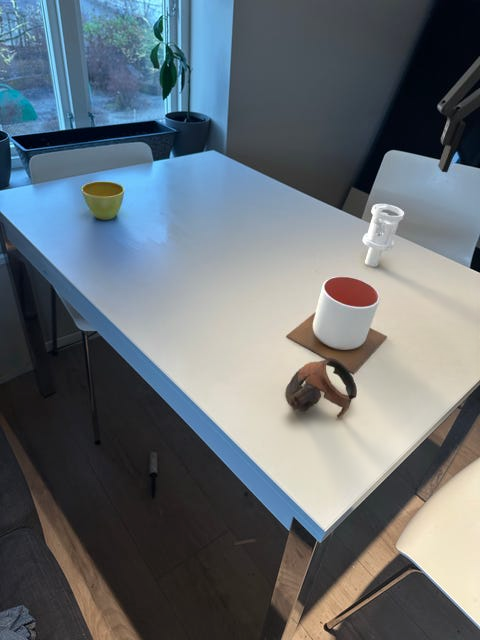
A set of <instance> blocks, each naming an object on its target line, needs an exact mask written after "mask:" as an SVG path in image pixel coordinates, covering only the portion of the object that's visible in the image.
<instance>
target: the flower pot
mask: <svg viewBox="0 0 480 640" xmlns="http://www.w3.org/2000/svg"><path fill="white" fill-rule="evenodd" d="M81 193H82V196H83V199H84V201H85V203H86V205H87V207H88V209H89V211H90V212H91V213H92V214H93V216H94V217H95V218H96V219H98V220H103V221H106V220H107V221H108V220H113V219H114V218H116V216H117V215H118V213H119V211H120V209H121V206H122V204H123V200H124V195H125V187H124V186H123V185H121V184H119V183H117V182H114V181H107V180H104V181H103V180H99V181H92V182H88V183H86V184H83V186H82V187H81Z"/></svg>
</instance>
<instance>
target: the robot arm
mask: <svg viewBox="0 0 480 640" xmlns="http://www.w3.org/2000/svg"><path fill="white" fill-rule="evenodd" d="M479 80H480V56H478V58H477V59H476V60H475V61H474V62H473V63H472V65H470V67H469V68H468V69H467V71H466V72H464V74H463V75H462V76H461V77H460V78H459V80H458V81H457V82H456V83H455V84H454V86H453V87H452V88H451V89H450V90H449V91H448V93H446V95H444V97H443V98H442V99H441V100H440V102H438V104H437V107H436V108H437V110H438V111H439V113H440V114H442V115H443V116H445V117H446V118H447V120H446V123H445V126H444V129H443V131H442V134H441V137H440V143H441V145H442V146H444V148H443V151H442V154H441V157H440V159H439V162H438V164H437V166H438V167H437V168H439V170H440V171H441V172H442V173H448V171H449V170H450V167H451V164H452V161H453V158H454V156H455V154H456V151H457V148H458V146H459V143H460V142H461V141H460V140H461V138H462V136H463V133H464V130H465V127H466V125H467V124H466V123H465V122H464V121H463V119H464V118H466V117H467V116H469V115H470V114H471V113H472V112H474V111H475V110H476V109H478V108H479V107H480V87H479V88H478V89H476V90H475V91H473V93H471V94H470V95H468V96H467V97H466V98H464V97H465V96H466V95H467V94H468V93H469V91H471V89H472V88H473V87H474V85H475V84H476V83H477V82H478V81H479ZM463 98H464V99H463ZM462 99H463V100H462Z"/></svg>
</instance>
